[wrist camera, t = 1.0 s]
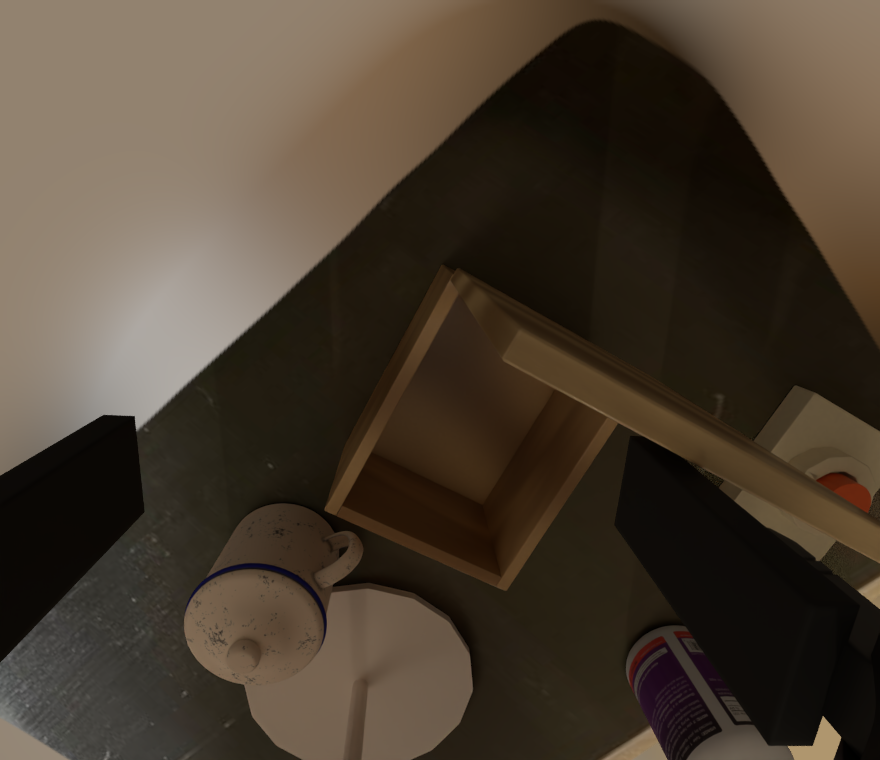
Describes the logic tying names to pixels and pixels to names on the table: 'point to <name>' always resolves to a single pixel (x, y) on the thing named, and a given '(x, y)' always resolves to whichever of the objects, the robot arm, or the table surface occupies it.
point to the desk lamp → (371, 681)
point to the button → (847, 489)
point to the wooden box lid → (659, 414)
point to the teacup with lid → (269, 595)
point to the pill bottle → (691, 702)
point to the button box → (813, 458)
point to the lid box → (463, 447)
